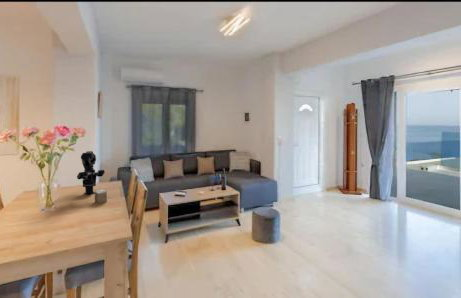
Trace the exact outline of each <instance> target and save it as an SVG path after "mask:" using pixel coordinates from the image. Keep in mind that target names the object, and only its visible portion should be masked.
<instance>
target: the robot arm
mask: <svg viewBox="0 0 461 298" xmlns="http://www.w3.org/2000/svg"><path fill="white" fill-rule="evenodd" d="M80 159H81V164H82V166H83V169H84V171H80V172H79V173H78V174H77V176H76V178H77V180H82V188H84V189H85V190H84V191H85V192H83V194H85V195H87V196H88V195H93V194H94V195H95V192H94V187H96V185H97V183H96V182H97V178H99V177H100V178H101V177H103V176H104V174H105V170H104V169H99V170H97V171H96V170H95V168H94V165H96V162H97V156H96V154H95V153H94V152H93V150H89V151H86V152H82V154H81V155H80Z"/></svg>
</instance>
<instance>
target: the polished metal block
mask: <svg viewBox="0 0 461 298" xmlns="http://www.w3.org/2000/svg"><path fill="white" fill-rule="evenodd" d="M93 192H95V193H94V203H97V204H102V203H107V202H108V196H107V195H108V193H107V190H105V189H99V190H93Z"/></svg>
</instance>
